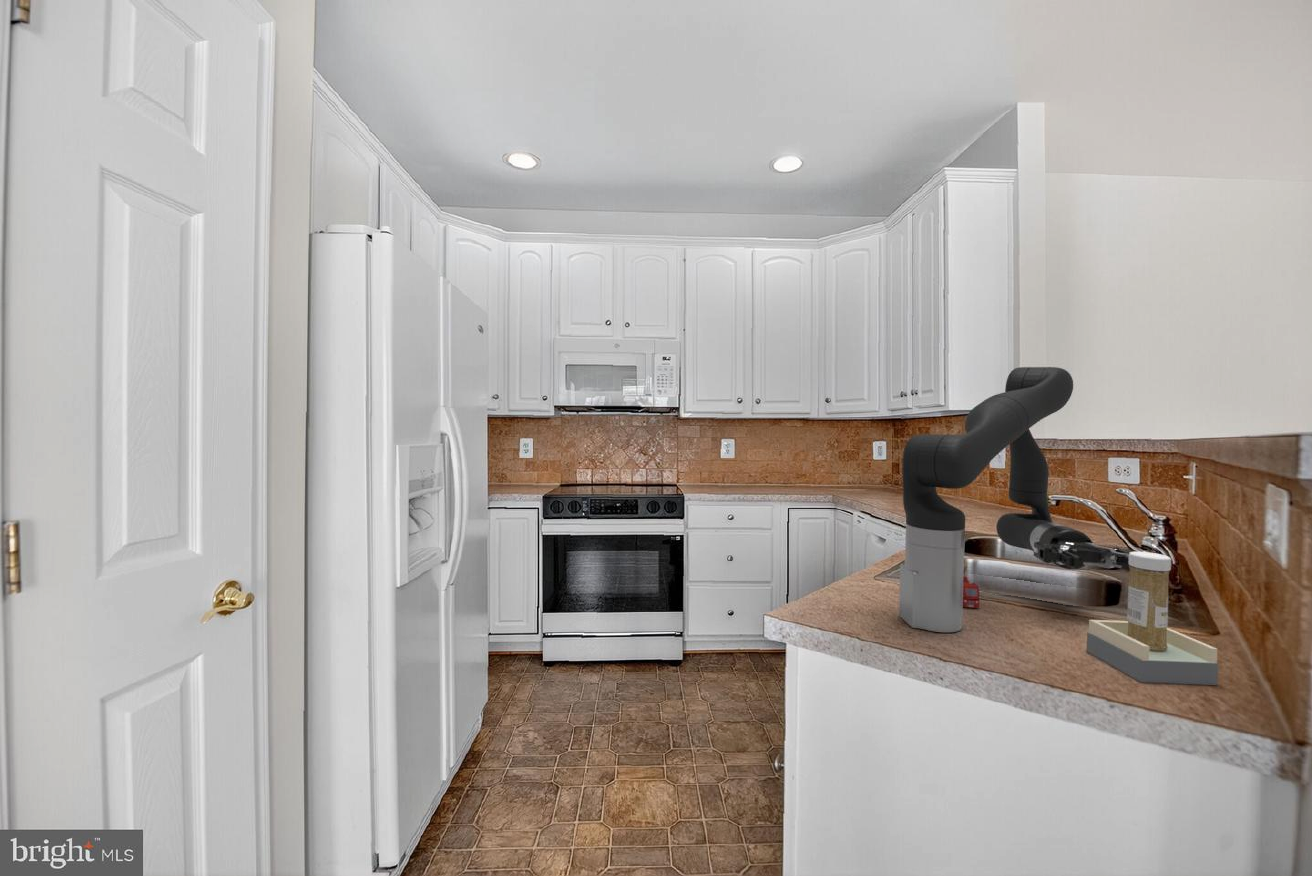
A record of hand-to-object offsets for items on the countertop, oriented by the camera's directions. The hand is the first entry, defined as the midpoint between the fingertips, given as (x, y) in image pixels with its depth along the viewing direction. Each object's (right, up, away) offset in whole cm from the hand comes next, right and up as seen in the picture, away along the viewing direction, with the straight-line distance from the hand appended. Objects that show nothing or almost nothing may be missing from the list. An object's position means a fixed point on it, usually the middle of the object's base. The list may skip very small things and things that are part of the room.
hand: (1106, 565), depth 89 cm
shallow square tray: (-3, -12, -10) cm, 16 cm away
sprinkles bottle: (-3, -9, -10) cm, 14 cm away
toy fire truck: (-13, -12, +20) cm, 27 cm away
